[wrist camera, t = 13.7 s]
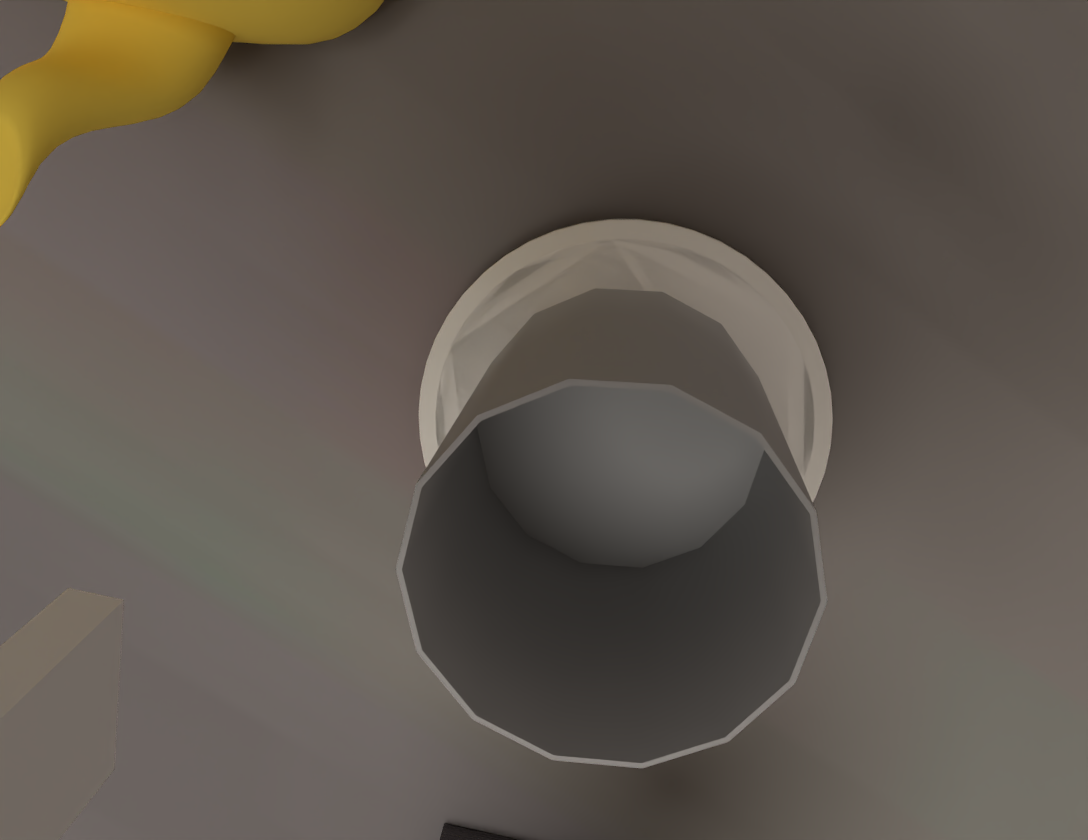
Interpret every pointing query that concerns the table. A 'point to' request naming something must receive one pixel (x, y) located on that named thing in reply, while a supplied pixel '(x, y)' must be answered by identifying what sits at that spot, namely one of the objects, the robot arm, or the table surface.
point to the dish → (645, 265)
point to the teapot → (139, 67)
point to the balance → (467, 834)
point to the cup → (614, 538)
